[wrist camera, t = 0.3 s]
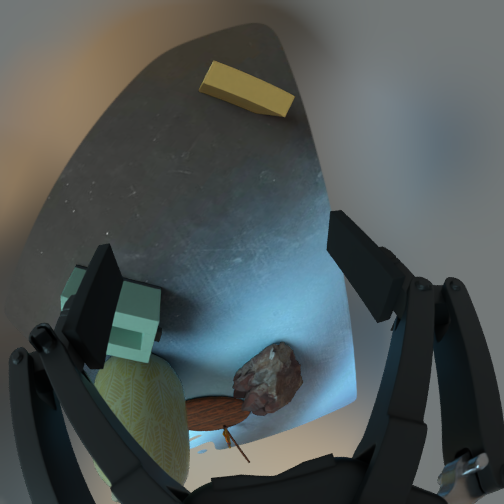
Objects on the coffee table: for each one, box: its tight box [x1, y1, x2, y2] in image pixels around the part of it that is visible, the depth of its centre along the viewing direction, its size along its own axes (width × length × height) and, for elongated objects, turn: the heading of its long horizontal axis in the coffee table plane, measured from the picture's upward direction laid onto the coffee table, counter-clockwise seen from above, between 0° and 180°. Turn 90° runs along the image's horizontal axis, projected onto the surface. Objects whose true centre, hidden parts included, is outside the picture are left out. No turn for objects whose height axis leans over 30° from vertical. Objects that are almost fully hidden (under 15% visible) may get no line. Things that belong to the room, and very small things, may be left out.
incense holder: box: [186, 396, 250, 463], centre depth 57 cm, size 21×30×11 cm
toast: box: [199, 61, 295, 117], centre depth 22 cm, size 7×2×10 cm, turn 66°
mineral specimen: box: [232, 342, 303, 416], centre depth 46 cm, size 12×13×15 cm
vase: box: [92, 354, 190, 503], centre depth 34 cm, size 17×17×27 cm
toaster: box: [61, 265, 162, 363], centre depth 33 cm, size 14×9×7 cm, turn 66°
